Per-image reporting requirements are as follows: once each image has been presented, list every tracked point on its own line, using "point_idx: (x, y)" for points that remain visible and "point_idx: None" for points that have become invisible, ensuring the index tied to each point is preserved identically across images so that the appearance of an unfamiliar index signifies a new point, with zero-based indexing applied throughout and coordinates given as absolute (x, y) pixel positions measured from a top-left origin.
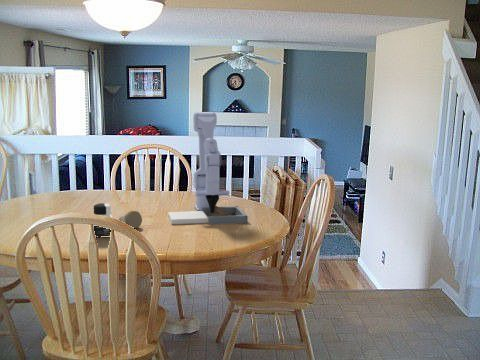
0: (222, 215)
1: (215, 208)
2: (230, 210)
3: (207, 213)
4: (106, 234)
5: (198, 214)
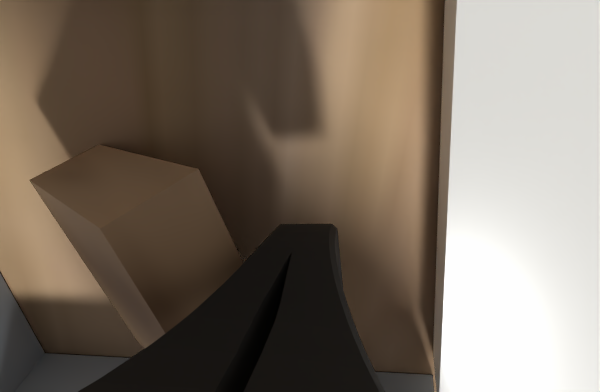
0: (133, 156)
1: None
2: (72, 388)
3: None
4: None
5: (578, 253)
